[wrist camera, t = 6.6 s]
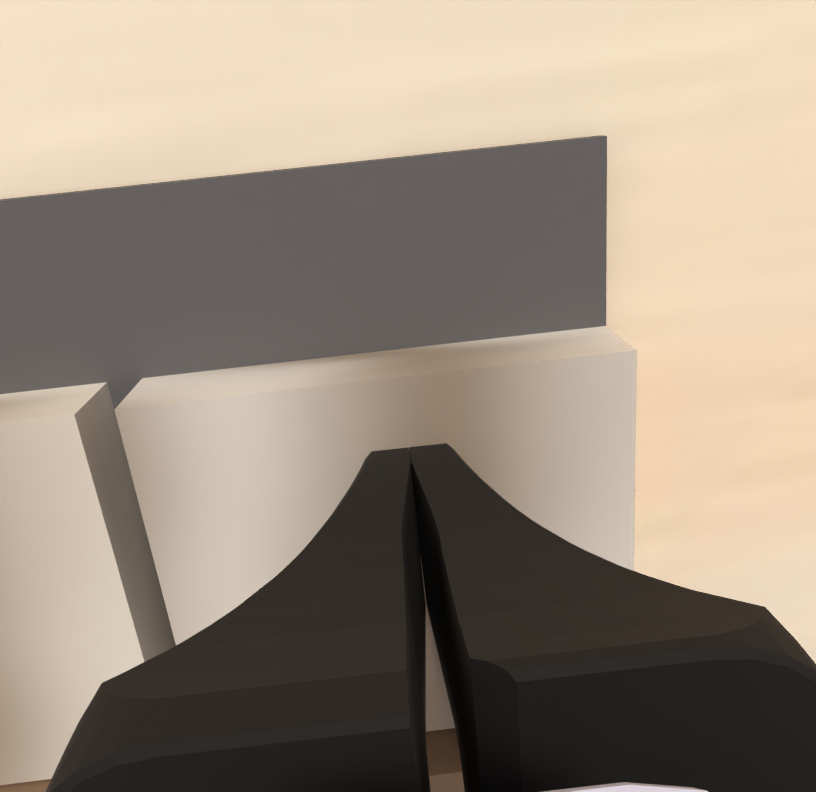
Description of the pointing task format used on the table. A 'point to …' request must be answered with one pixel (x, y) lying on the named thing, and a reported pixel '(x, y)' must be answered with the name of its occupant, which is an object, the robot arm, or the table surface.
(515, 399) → the plank
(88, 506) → the plank
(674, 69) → the table surface
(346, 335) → the gray rectangular panel
